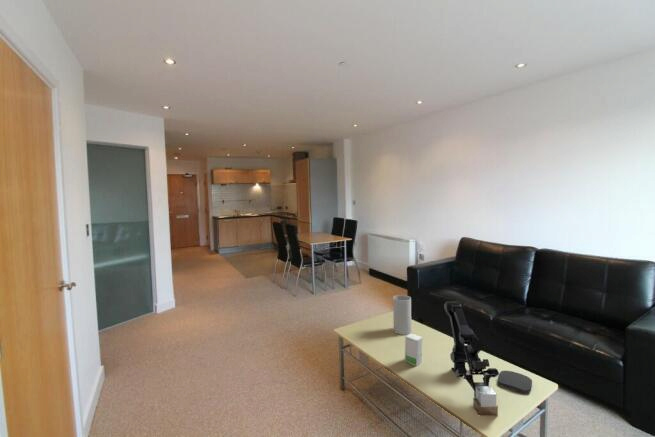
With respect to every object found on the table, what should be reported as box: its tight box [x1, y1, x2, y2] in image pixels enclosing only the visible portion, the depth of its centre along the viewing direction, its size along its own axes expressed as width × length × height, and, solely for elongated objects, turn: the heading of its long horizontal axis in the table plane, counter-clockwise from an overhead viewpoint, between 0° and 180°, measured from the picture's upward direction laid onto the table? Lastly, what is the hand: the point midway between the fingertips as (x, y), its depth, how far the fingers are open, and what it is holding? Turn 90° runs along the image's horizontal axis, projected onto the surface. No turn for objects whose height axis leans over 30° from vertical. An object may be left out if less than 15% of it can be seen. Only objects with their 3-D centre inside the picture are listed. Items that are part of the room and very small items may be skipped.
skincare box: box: [404, 332, 423, 367], centre depth 188 cm, size 8×7×16 cm
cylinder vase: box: [392, 294, 412, 336], centre depth 229 cm, size 12×12×25 cm
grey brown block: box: [472, 385, 499, 417], centre depth 144 cm, size 6×8×10 cm
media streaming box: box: [497, 370, 533, 395], centre depth 164 cm, size 15×15×3 cm
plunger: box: [473, 381, 487, 398], centre depth 146 cm, size 8×5×7 cm, turn 177°
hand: (481, 392), depth 147 cm, fingers closed on plunger, 5 cm apart
